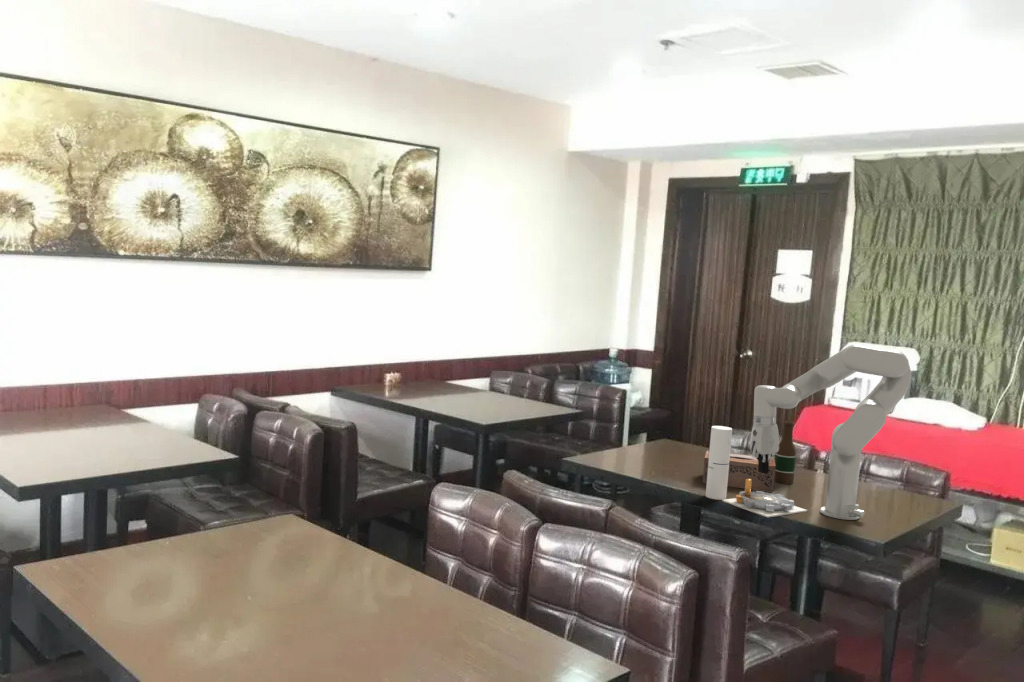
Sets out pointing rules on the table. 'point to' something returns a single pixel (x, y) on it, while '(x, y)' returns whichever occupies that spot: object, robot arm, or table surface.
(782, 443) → the beer bottle
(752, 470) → the tissue box cover
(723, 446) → the cylindrical container
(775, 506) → the sprocket
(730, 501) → the sprocket base
